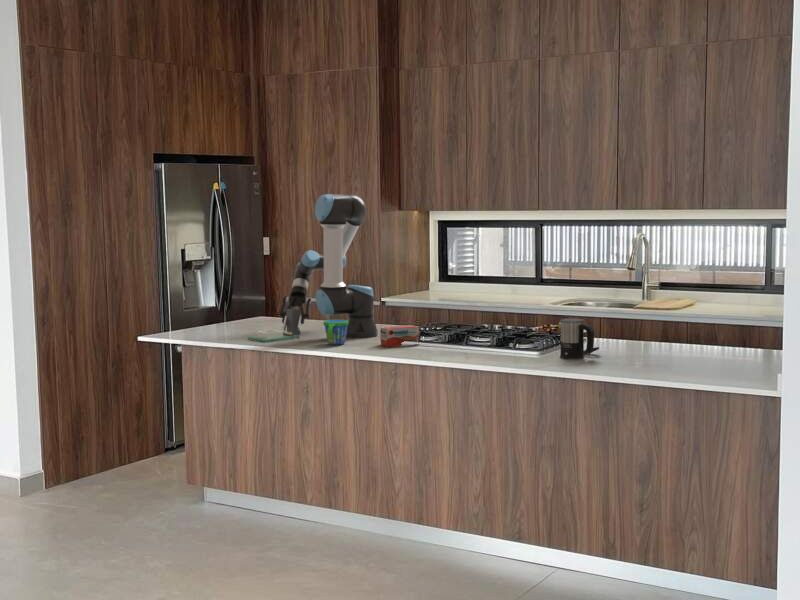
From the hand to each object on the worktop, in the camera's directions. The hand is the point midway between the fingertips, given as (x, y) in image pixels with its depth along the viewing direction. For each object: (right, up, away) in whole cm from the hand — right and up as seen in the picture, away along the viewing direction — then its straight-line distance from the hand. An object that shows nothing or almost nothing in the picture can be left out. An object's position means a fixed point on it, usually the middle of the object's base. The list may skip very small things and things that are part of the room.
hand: (291, 328), depth 442 cm
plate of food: (+124, -2, +1) cm, 124 cm away
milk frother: (+120, -9, -66) cm, 137 cm away
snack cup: (+22, -6, -26) cm, 35 cm away
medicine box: (+50, -6, -30) cm, 59 cm away
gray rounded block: (+1, -3, +4) cm, 5 cm away
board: (-7, -4, -8) cm, 12 cm away
